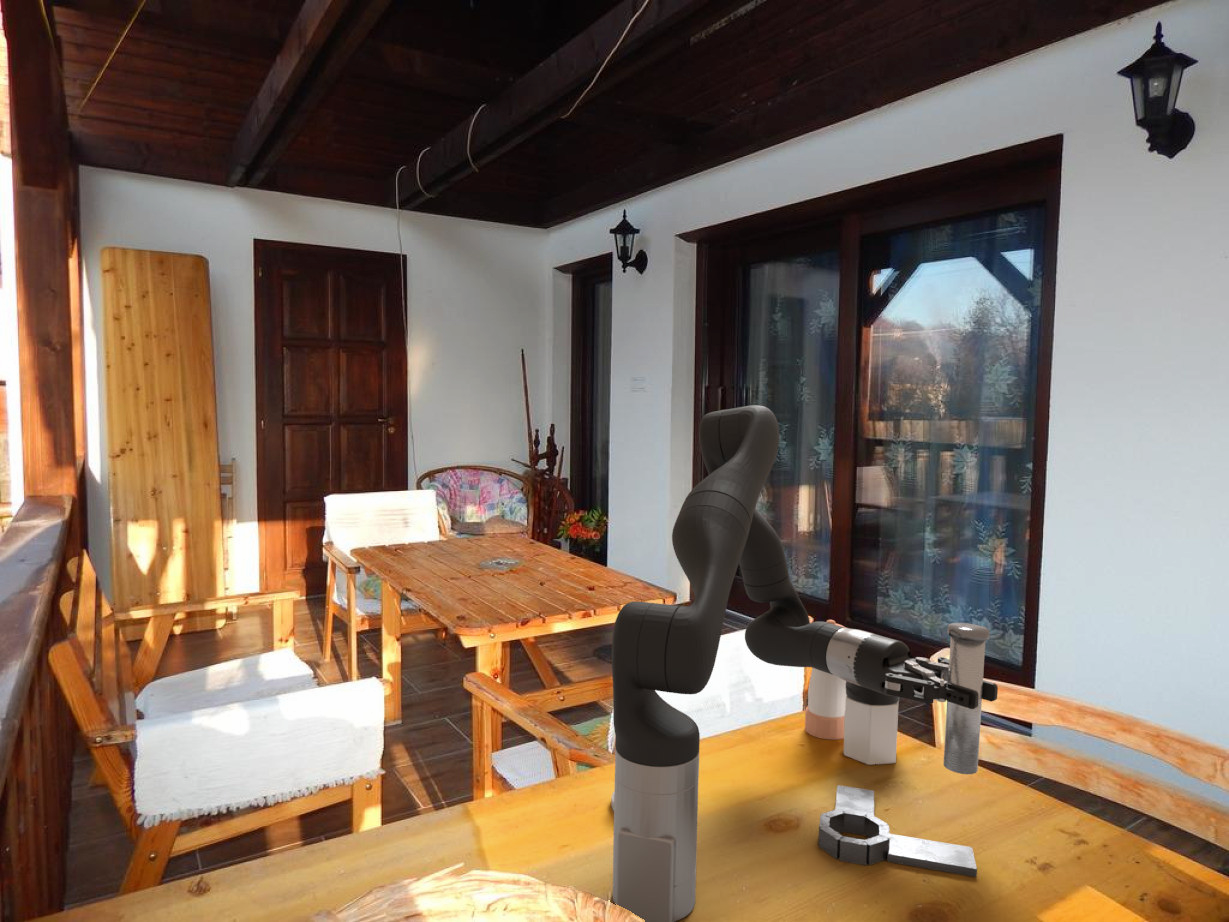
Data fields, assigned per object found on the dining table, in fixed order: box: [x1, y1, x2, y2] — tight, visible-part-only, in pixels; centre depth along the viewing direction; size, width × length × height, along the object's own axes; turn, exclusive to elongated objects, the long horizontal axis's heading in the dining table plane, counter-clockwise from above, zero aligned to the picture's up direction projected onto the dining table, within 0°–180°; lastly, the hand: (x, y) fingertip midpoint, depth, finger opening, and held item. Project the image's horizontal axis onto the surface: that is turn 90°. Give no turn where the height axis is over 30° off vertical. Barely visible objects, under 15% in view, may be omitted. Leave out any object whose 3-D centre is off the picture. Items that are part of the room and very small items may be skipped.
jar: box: [843, 681, 900, 766], centre depth 129 cm, size 9×8×12 cm
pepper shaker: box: [804, 619, 847, 741], centre depth 138 cm, size 7×7×19 cm
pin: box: [943, 622, 990, 775], centre depth 103 cm, size 5×5×18 cm
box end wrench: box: [817, 784, 978, 878], centre depth 106 cm, size 18×18×2 cm
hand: (986, 696), depth 101 cm, fingers closed on pin, 4 cm apart
